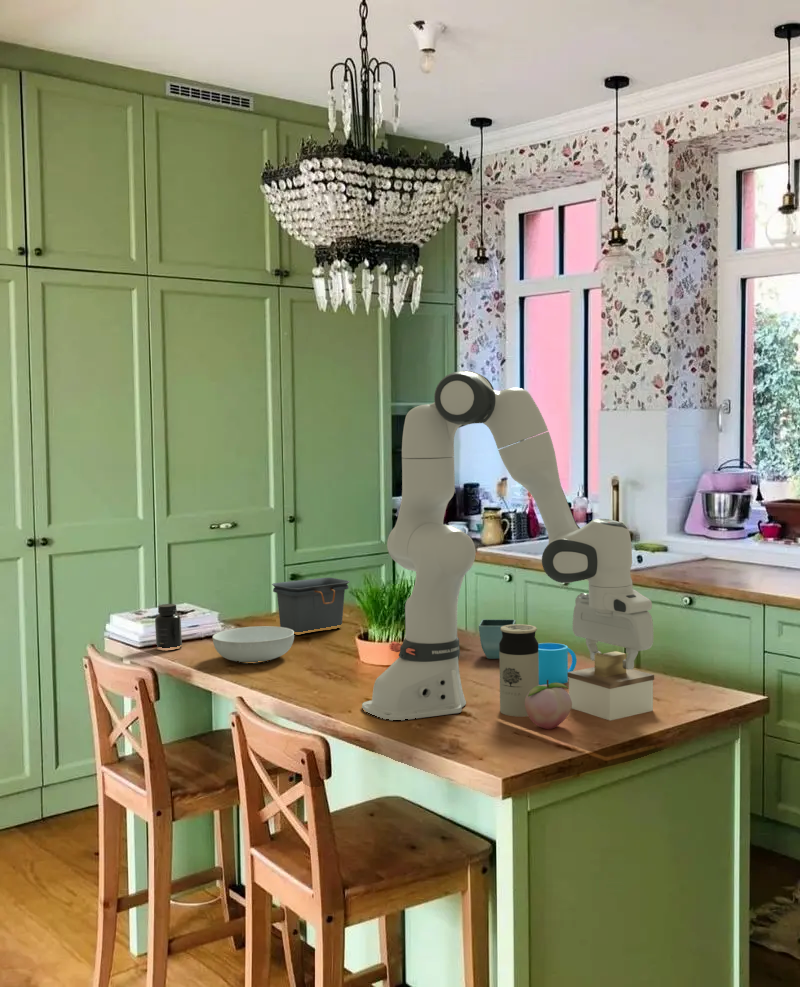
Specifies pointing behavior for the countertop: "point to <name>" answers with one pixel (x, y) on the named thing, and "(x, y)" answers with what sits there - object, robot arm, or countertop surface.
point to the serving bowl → (253, 643)
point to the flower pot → (492, 635)
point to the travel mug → (517, 667)
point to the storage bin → (311, 603)
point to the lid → (610, 672)
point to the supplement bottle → (168, 627)
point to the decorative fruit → (548, 705)
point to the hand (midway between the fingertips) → (611, 664)
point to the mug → (554, 663)
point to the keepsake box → (611, 699)
